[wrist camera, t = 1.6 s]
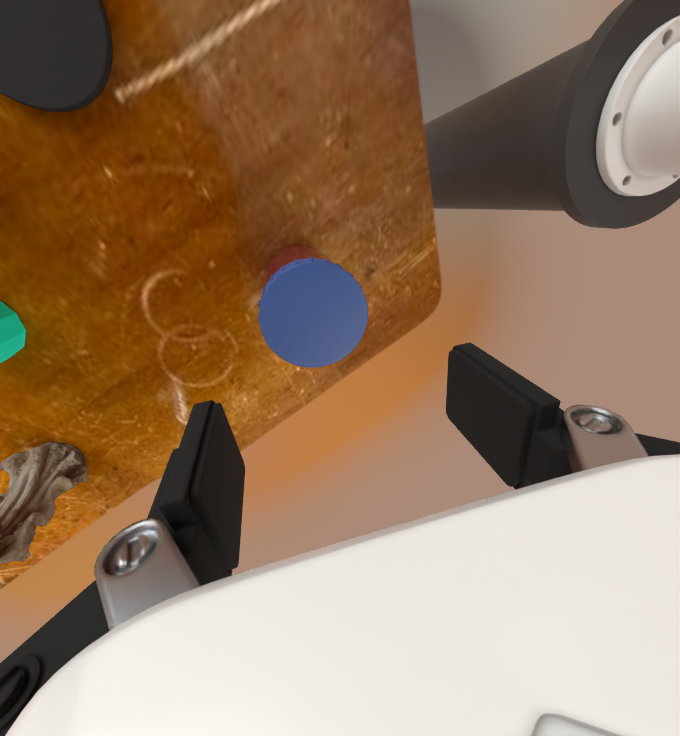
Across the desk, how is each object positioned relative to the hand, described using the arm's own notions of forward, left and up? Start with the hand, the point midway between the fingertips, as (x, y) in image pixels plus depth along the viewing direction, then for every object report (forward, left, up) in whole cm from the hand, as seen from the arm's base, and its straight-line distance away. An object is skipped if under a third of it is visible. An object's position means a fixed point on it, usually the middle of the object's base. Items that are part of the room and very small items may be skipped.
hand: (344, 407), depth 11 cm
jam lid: (0, 0, -10) cm, 10 cm away
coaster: (+13, -18, -20) cm, 30 cm away
